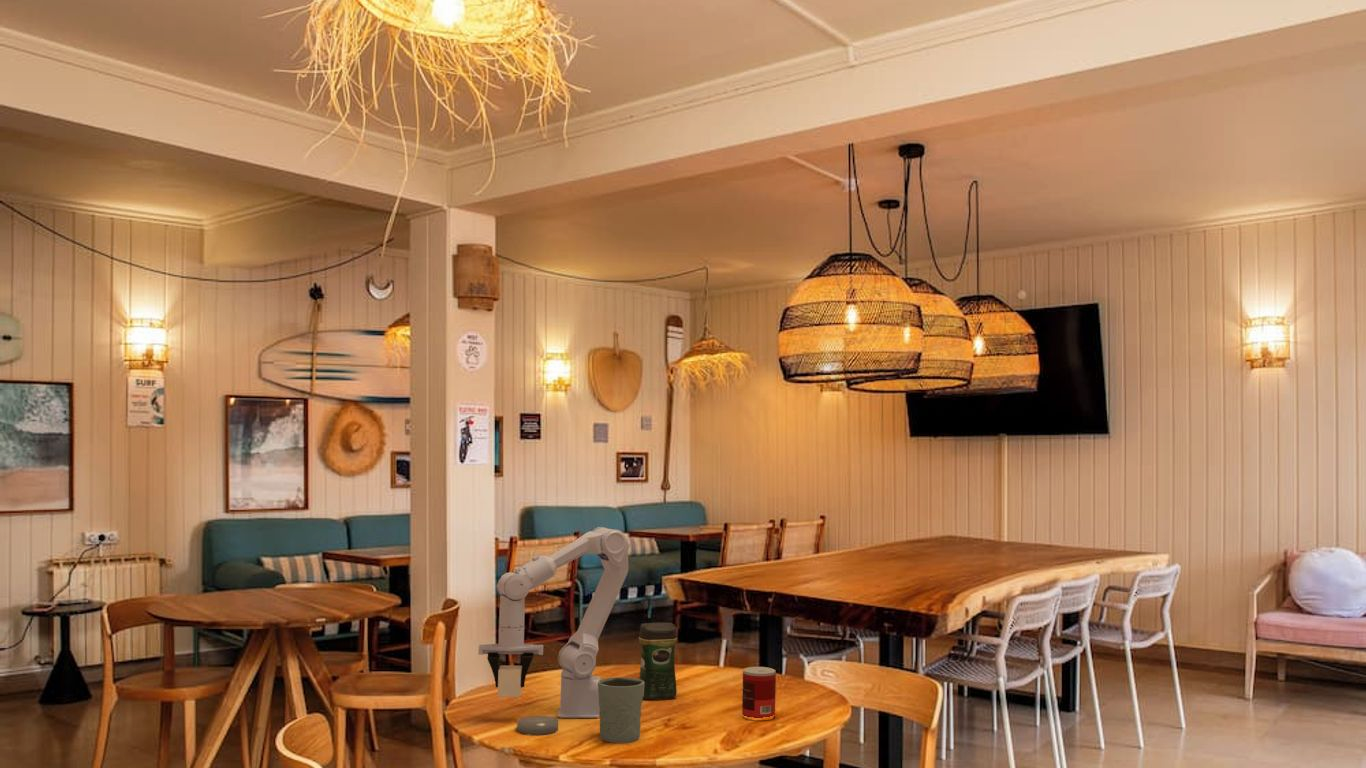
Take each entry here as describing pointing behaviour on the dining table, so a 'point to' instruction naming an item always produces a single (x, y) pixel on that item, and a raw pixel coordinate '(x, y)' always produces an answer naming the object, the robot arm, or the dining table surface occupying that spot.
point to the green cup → (620, 709)
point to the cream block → (509, 681)
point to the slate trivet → (537, 725)
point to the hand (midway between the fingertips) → (510, 686)
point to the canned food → (758, 692)
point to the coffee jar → (658, 660)
